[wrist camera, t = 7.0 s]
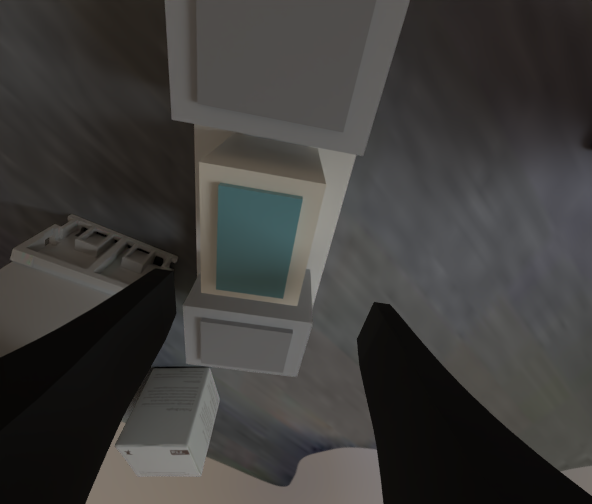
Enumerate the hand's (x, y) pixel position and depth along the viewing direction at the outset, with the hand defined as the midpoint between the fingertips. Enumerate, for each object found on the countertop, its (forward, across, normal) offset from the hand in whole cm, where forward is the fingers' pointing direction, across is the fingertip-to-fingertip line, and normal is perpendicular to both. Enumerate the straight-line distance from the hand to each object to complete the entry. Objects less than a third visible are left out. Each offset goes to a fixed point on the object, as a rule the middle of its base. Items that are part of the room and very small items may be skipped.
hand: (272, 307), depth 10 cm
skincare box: (+10, +7, +22) cm, 26 cm away
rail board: (+10, +1, -1) cm, 10 cm away
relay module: (+8, +1, -1) cm, 8 cm away
